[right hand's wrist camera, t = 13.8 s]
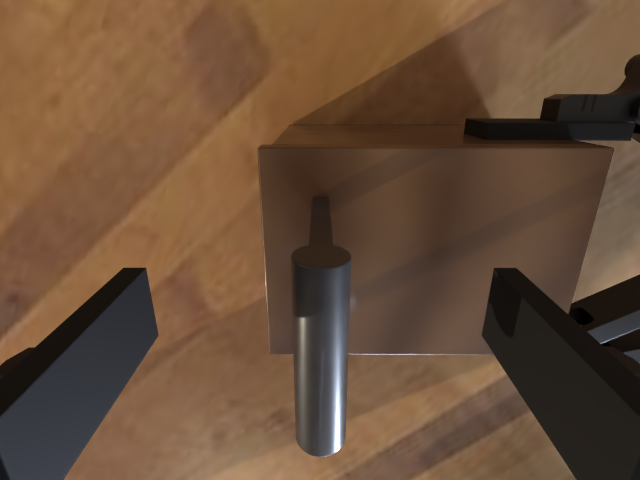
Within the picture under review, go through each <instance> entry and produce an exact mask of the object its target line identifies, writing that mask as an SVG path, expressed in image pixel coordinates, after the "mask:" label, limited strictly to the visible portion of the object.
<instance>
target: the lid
mask: <svg viewBox="0 0 640 480" xmlns="http://www.w3.org/2000/svg"><path fill="white" fill-rule="evenodd" d="M613 151H614V148H612V147H607V146H602V145H261V146H259V147H258V165H259V182H260V200H261V217H262V234H263V251H264V268H265V286H266V303H267V320H268V337H269V353H270V354H294V385H295V418H296V440H297V443H298V445H299V446H300V448H301V449H302V450H303V451H305V452H306V453H308V454H310V455H312V456H317V457H325V456H329V455H332V454H334V453H336V452H337V451H338V450H339V449H340V448H341V447H342V445H343V443H344V441H345V431H346V401H347V372H348V354H362V355H494V354H493V352H492V351H491V349H490V348H489V346H488V345H487V343H486V341H485V340H484V338H483V337H482V330H483V325H484V319H485V314H486V309H487V303H488V298H489V292H490V287H491V281H492V276H493V271H494V268H517V269H518V270H519V271H520V272H522V273H523V274H524V275H525V276H526V277H527V278H528V279H529V280H530V281H532V282H533V283H534V284H535V285H536V286H537V287H538V288H539V289H540V290H542V291H543V292H544V293H545V294H546V295H547V296H548V297H549V298H550V299H552V300H553V301H554V302H555V303H556V304H557V305H558V306H559V307H560V308H562V309H563V310H564V311H565V312H566V313H567V314H568V313H569V310H570V306H571V303H572V299H573V295H574V292H575V288H576V285H577V281H578V277H579V274H580V270H581V266H582V263H583V259H584V256H585V252H586V248H587V245H588V241H589V238H590V234H591V230H592V227H593V223H594V220H595V216H596V212H597V209H598V205H599V202H600V198H601V194H602V191H603V187H604V183H605V180H606V176H607V173H608V169H609V165H610V162H611V158H612V155H613Z"/></svg>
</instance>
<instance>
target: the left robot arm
mask: <svg viewBox="0 0 640 480" xmlns="http://www.w3.org/2000/svg"><path fill="white" fill-rule="evenodd" d="M625 76H626V78H625V80H624V82H623V83H622V84H621V86H620V87H619V88H618V89H617V90H615V91H614V92H612V93H609V94H555V95H552V96H550V97H547V98H545V99H544V101H543V106H542V111H541V116H540V119H466V122H465V129H464V134H467V135H471V136H474V137H478V138H481V139H484V140H602V141H631V138H633V139H635V140H636V141H638V142H639V143H640V54H638V55H635V56H634V57H632V58H631V59H630V60H629V61H628V63H627V64H626V67H625ZM568 315H569V316H570V317H572V318H573V319H574V320H575V321H576V322H577V323H578V324H579V325H581V326H582V327H583V328H584V329H585V330H586V331H587V332H588V333H589V334H590V335H592V336H593V337H594V338H595V339H596V340H597V341H598V342H599V343H600V344H602V345H603V346H612V347H614V348H615V349H617V350H619V351H621V352H622V353H624V354H626V355H628V356H630V357H631V358H633V359H635V360H636V361H637V362H638V363H639V364H640V275H638V276H635V277H633V278H631V279H628V280H626V281H624V282H621V283H619V284H617V285H614V286H612V287H609V288H607V289H605V290H602V291H600V292H598V293H595V294H593V295H591V296H588V297H586V298H584V299H581V300H579V301H577V302H574V303H572V304H571V306H570V310H569V313H568Z"/></svg>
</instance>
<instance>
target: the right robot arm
mask: <svg viewBox="0 0 640 480" xmlns="http://www.w3.org/2000/svg"><path fill="white" fill-rule="evenodd" d="M157 337H158V330H157V325H156V319H155V314H154V309H153V303H152V298H151V292H150V287H149V282H148V276H147V271H146V268H123V269H122V270H121V271H119V272H118V273H117V274H116V275H115V276H114V277H113V278H112V279H111V280H110V281H108V282H107V283H106V284H105V285H104V286H103V287H102V288H101V289H100V290H98V291H97V292H96V293H95V294H94V295H93V296H92V297H91V298H90V299H88V300H87V301H86V302H85V303H84V304H83V305H82V306H81V307H80V308H78V309H77V310H76V311H75V312H74V313H73V314H72V315H71V316H70V317H68V318H67V319H66V320H65V321H64V322H63V323H62V324H61V325H60V326H58V327H57V328H56V329H55V330H54V331H53V332H52V333H51V334H50V335H48V336H47V337H46V338H45V339H44V340H43V341H42V342H41V343H40V344H38V345H37V346H36V347H35V348H27V349H26V350H24V351H22V352H20V353H19V354H17V355H15V356H13V357H11V358H10V359H8V360H6V361H5V362H4V363H3V364H2V365H0V480H63V479H64V478H65V476H66V475H67V473H68V472H69V470H70V469H71V467H72V466H73V464H74V463H75V461H76V460H77V458H78V457H79V455H80V454H81V452H82V451H83V449H84V448H85V446H86V444H87V443H88V441H89V440H90V438H91V437H92V435H93V434H94V432H95V431H96V429H97V428H98V426H99V425H100V423H101V422H102V420H103V419H104V417H105V416H106V414H107V413H108V411H109V410H110V408H111V407H112V405H113V404H114V402H115V401H116V399H117V398H118V396H119V394H120V393H121V391H122V390H123V388H124V387H125V385H126V384H127V382H128V381H129V379H130V378H131V376H132V375H133V373H134V372H135V370H136V369H137V367H138V366H139V364H140V363H141V361H142V360H143V358H144V357H145V355H146V354H147V352H148V351H149V349H150V348H151V346H152V345H153V343H154V341H155V340H156V338H157ZM482 337H483V338H484V340H485V341H486V343H487V345H488V346H489V348H490V349H491V351H492V352H493V354H494V355H495V357H496V358H497V360H498V361H499V363H500V364H501V366H502V367H503V369H504V370H505V372H506V373H507V375H508V376H509V378H510V379H511V381H512V382H513V384H514V385H515V387H516V388H517V390H518V391H519V393H520V395H521V396H522V398H523V399H524V401H525V402H526V404H527V405H528V407H529V408H530V410H531V411H532V413H533V414H534V416H535V417H536V419H537V420H538V422H539V423H540V425H541V426H542V428H543V429H544V431H545V432H546V434H547V435H548V437H549V438H550V440H551V441H552V443H553V444H554V446H555V448H556V449H557V451H558V452H559V454H560V455H561V457H562V458H563V460H564V461H565V463H566V464H567V466H568V467H569V469H570V470H571V472H572V473H573V475H574V476H575V478H576V479H577V480H640V364H639V363H638V362H637V361H636V360H635V359H633V358H631V357H630V356H628V355H626V354H624V353H622V352H621V351H619V350H617V349H615V348H614V347H612V346H603V345H602V344H600V343H599V342H598V341H597V340H596V339H595V338H594V337H593V336H592V335H590V334H589V333H588V332H587V331H586V330H585V329H584V328H583V327H582V326H580V325H579V324H578V323H577V322H576V321H575V320H574V319H573V318H572V317H570V316H569V315H568V314H567V313H566V312H565V311H564V310H563V309H562V308H560V307H559V306H558V305H557V304H556V303H555V302H554V301H553V300H552V299H550V298H549V297H548V296H547V295H546V294H545V293H544V292H543V291H542V290H540V289H539V288H538V287H537V286H536V285H535V284H534V283H533V282H532V281H530V280H529V279H528V278H527V277H526V276H525V275H524V274H523V273H522V272H520V271H519V270H518V269H517V268H494V271H493V276H492V281H491V287H490V292H489V298H488V303H487V309H486V314H485V319H484V325H483V330H482Z"/></svg>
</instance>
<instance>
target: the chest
mask: <svg viewBox="0 0 640 480" xmlns="http://www.w3.org/2000/svg"><path fill="white" fill-rule="evenodd" d="M464 129H465V125H289V127H288V128H287V129H286V130H285V131H284V132H283V133H282V134H281V135H280V137H279V138H278V139H277V140H276V141H275V142H274V143H273V144H272V145H596V144H591V143H586V142H581V141H576V140H484V139H481V138H478V137H474V136H471V135H467V134H464Z"/></svg>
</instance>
